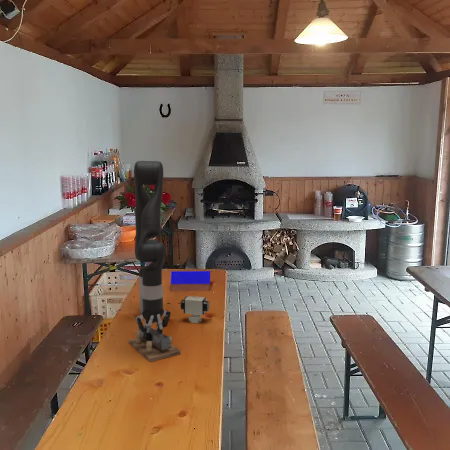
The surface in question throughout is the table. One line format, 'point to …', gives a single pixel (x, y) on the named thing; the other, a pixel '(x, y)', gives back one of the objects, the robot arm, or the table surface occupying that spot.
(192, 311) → the pneumatic valve
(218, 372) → the table surface
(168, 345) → the bar
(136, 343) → the cradle
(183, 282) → the house
